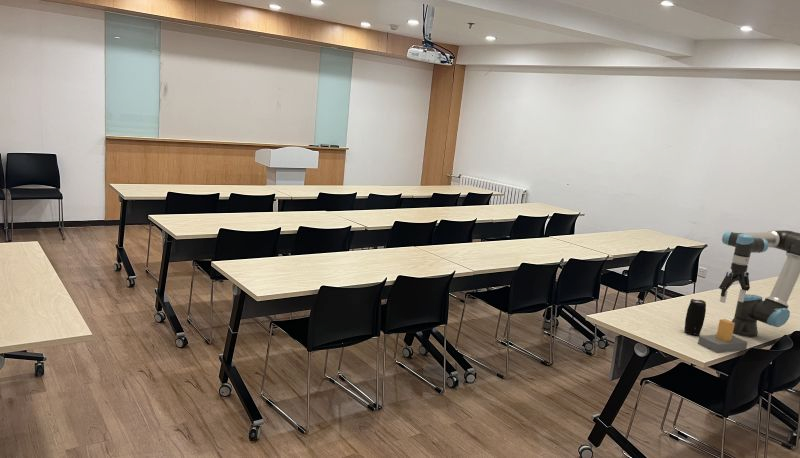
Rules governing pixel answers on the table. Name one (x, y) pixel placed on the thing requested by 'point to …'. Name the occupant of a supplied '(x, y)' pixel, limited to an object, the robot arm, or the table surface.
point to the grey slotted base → (722, 344)
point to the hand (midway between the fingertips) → (731, 301)
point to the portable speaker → (695, 317)
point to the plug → (725, 330)
